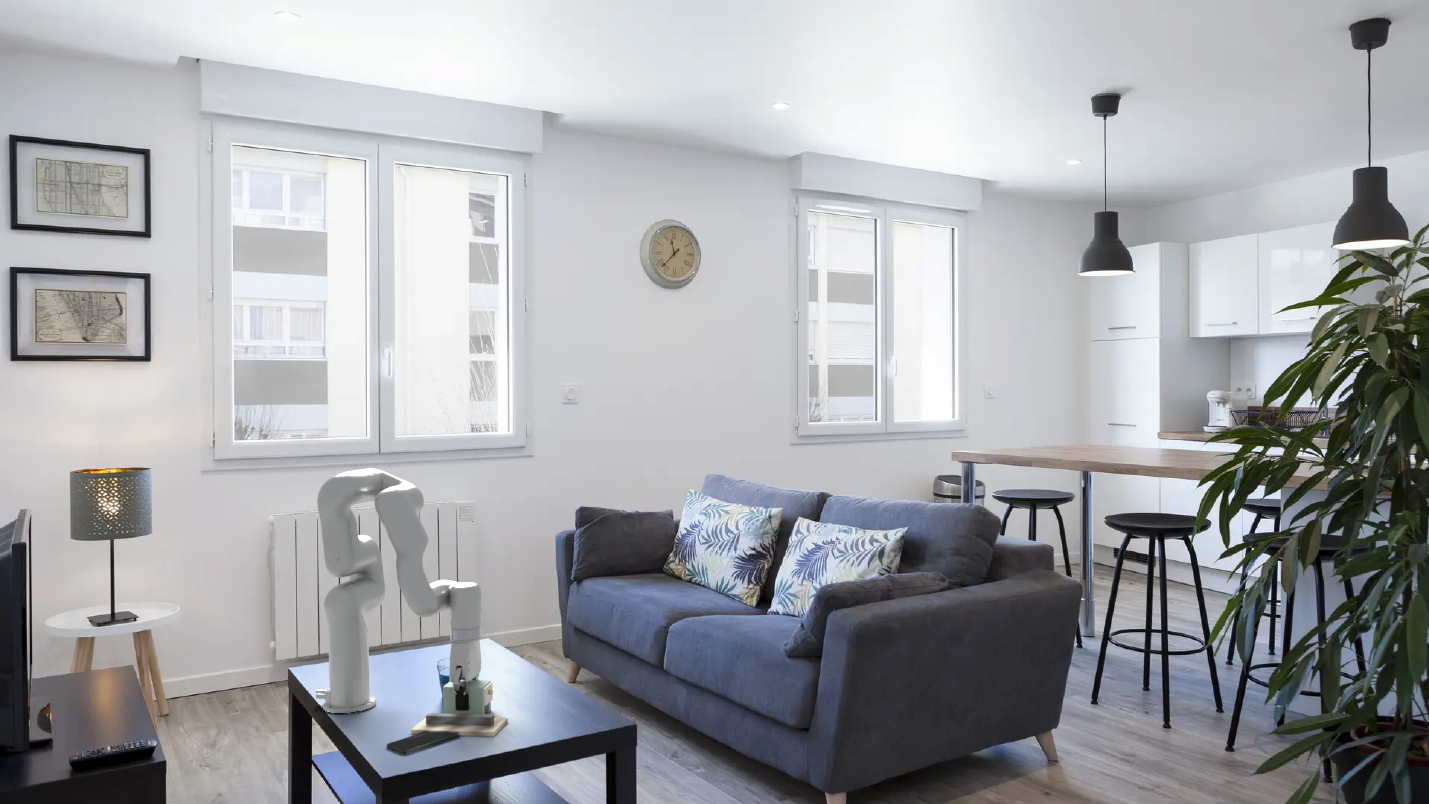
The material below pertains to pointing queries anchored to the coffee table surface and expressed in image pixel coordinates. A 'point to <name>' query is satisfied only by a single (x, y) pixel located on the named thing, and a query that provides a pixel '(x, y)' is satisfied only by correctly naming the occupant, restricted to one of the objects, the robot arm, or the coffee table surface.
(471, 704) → the mint green box
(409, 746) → the phone
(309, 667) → the coffee table surface
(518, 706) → the coffee table surface
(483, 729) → the board
